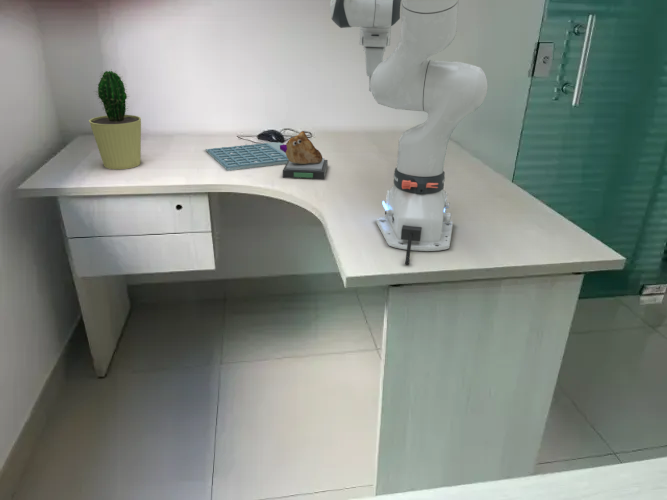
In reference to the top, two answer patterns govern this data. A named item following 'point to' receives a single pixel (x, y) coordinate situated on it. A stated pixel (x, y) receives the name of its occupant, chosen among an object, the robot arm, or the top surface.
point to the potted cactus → (116, 126)
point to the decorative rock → (302, 150)
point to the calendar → (250, 155)
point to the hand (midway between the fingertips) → (372, 88)
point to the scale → (305, 170)
